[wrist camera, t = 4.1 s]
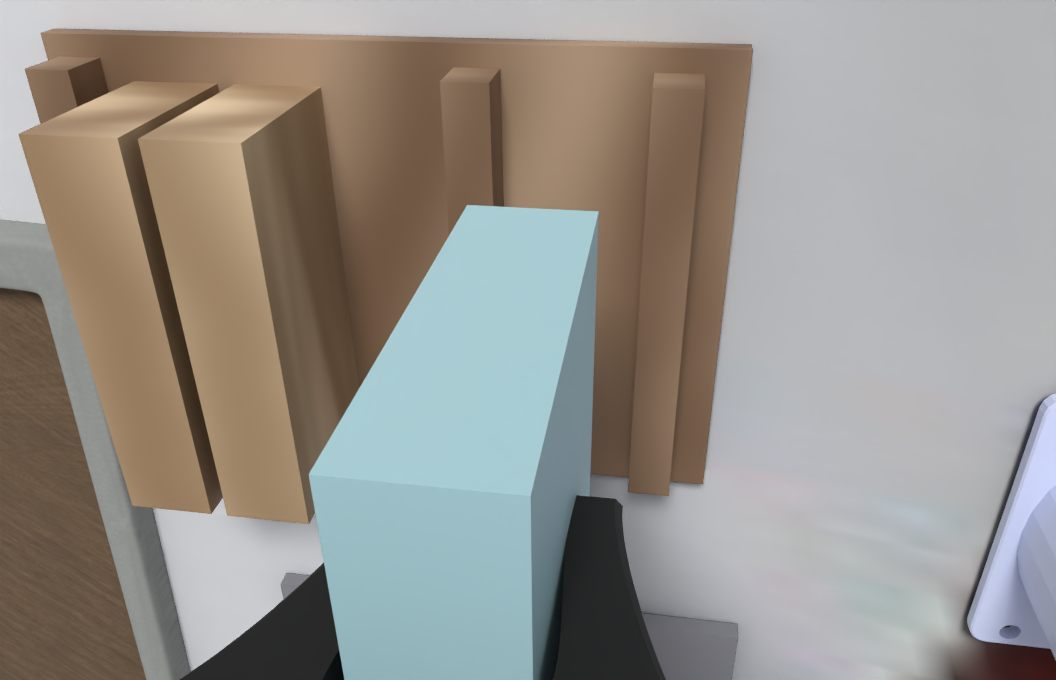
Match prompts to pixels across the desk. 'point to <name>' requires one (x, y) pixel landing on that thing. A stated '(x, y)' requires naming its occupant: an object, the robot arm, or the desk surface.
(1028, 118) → the desk surface
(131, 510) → the grey flat rectangular frame
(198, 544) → the desk surface
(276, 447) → the offcut
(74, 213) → the offcut
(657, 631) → the mat
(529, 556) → the pale teal block
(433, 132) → the rack
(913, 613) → the desk surface
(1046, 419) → the robot arm
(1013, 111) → the desk surface
